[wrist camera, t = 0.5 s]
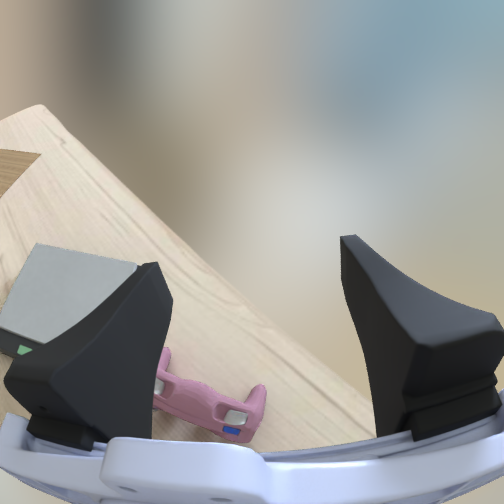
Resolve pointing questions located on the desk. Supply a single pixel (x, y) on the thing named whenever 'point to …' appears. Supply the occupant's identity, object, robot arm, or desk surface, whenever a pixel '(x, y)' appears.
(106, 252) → the desk surface
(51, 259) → the scale
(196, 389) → the video game controller
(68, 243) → the desk surface
